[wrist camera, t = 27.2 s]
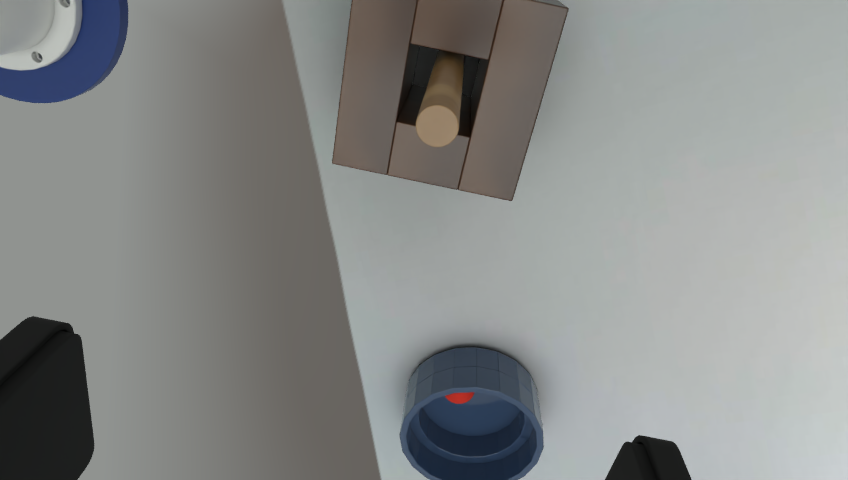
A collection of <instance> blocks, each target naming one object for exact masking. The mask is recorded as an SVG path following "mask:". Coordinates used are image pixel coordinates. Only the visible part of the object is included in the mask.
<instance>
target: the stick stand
mask: <svg viewBox="0 0 848 480" xmlns="http://www.w3.org/2000/svg"><path fill="white" fill-rule="evenodd" d="M568 10H569V9H568V8H567V7H566V6H565V5H563V4H562V3H560V2H559V1H558V0H352V4H351V12H350V20H349V28H348V37H347V45H346V53H345V61H344V69H343V78H342V86H341V94H340V102H339V110H338V118H337V127H336V135H335V143H334V151H333V159H332V163H333V164H337V165H342V166H347V167H351V168H356V169H361V170H366V171H370V172H375V173H380V174H385V175H389V176H394V177H399V178H404V179H408V180H413V181H418V182H423V183H427V184H432V185H437V186H442V187H447V188H451V189H456V190H457V189H458V190H461V191H466V192H471V193H475V194H480V195H485V196H490V197H494V198H499V199H504V200H509V201H512V200H513V197H514V193H515V190H516V187H517V183H518V180H519V176H520V173H521V170H522V166H523V163H524V159H525V156H526V153H527V149H528V146H529V142H530V139H531V136H532V132H533V129H534V125H535V122H536V119H537V115H538V112H539V108H540V105H541V102H542V98H543V95H544V91H545V88H546V85H547V81H548V78H549V74H550V71H551V68H552V64H553V61H554V57H555V54H556V51H557V47H558V44H559V40H560V37H561V34H562V30H563V27H564V23H565V20H566V17H567V13H568ZM419 46H424V47H428V48H433V49H438V50H442V51H447V52H452V53H456V54H461V55H465V56H470V57H475V58H479V59H480V61H479V65H478V70H477V74H476V78H475V82H474V87H473V91H472V95H471V97H469V96H465V95H462V96H461V109H460V121H459V131H458V134H457V136H456V138H455V139H454V140H453V141H452V142H451V143H450V144H448V145H446V146H443V147H432V146H429V145H427V144H425V143H424V142H423V141H422V140H421V139H420V138H419V136H418V134H417V132H416V119H417V116H418V113H419V110H420V107H421V104H422V101H423V98H424V94H425V91H426V88H427V87H423V86H418V85H412V83H413V78H414V72H415V67H416V61H417V56H418V50H419Z"/></svg>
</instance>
